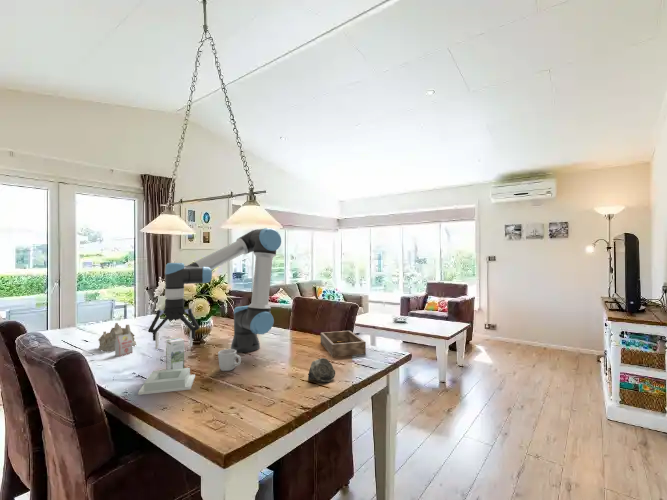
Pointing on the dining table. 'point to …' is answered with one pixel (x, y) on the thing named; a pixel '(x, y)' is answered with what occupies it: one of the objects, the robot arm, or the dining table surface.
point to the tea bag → (123, 345)
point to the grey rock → (114, 337)
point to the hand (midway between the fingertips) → (174, 347)
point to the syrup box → (174, 353)
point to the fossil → (321, 371)
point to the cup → (228, 359)
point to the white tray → (168, 381)
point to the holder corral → (343, 349)
